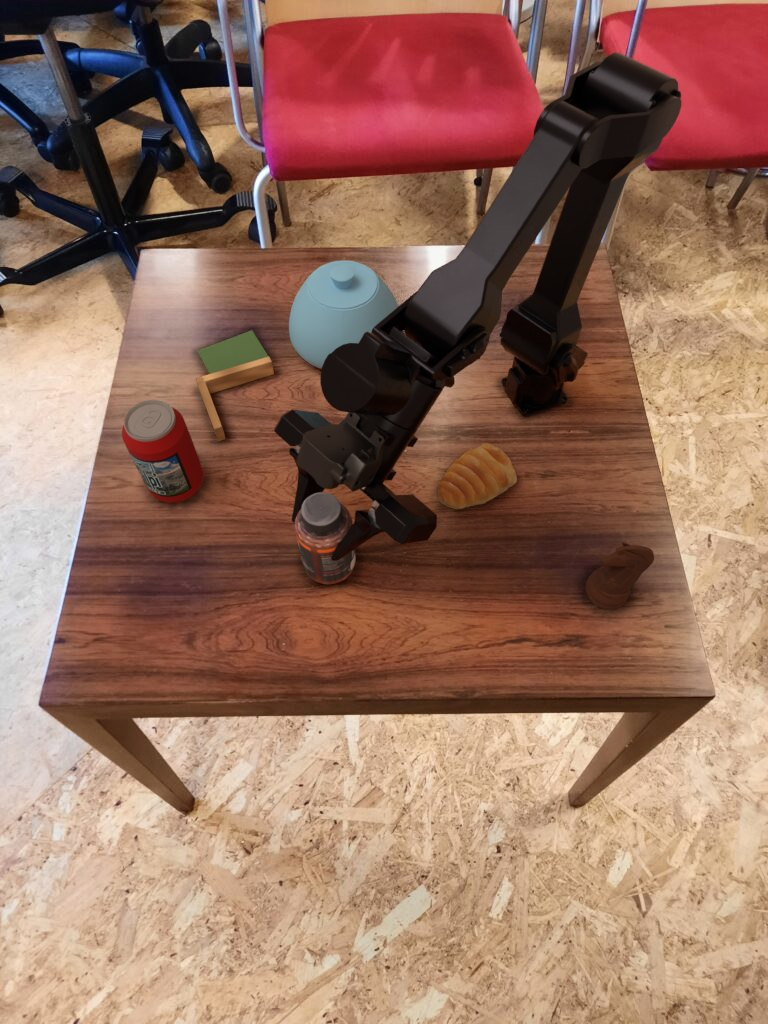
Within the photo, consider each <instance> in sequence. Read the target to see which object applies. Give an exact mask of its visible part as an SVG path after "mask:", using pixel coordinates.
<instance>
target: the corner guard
mask: <svg viewBox="0 0 768 1024" xmlns="http://www.w3.org/2000/svg"><path fill="white" fill-rule="evenodd" d="M274 375H275V372H274V366H273V361H272V359H271V357H270V356H269V357H266V358H262V359H259V360H255V361H252V362H249V363H245V364H242V365H239V366H235V367H232V368H229V369H225V370H222V371H219V372H215V373H212V374H209V373H208V374H205V375H201V376H199V377H196V378H195V381H196V384H197V387H198V390H199V393H200V396H201V399H202V401H203V405H204V407H205V409H206V412H207V415H208V418H209V421H210V423H211V426H212V428H213V432H214V434H215V437H216V439H217V442H221V441H224V440H226V439H227V438H226V434H225V431H224V428H223V424H222V422H221V420H220V417H219V414H218V412H217V409H216V406H215V404H214V402H213V399H212V395H211V394H215V393H217V392H221V391H224V390H227V389H230V388H234V387H237V386H240V385H244V384H248V383H250V382H253V381H256V380H260V379H264V378H267V377H270V376H274Z"/></svg>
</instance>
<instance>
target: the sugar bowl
mask: <svg viewBox="0 0 768 1024" xmlns="http://www.w3.org/2000/svg"><path fill="white" fill-rule="evenodd" d="M398 306H399V303H398V301H397V300H396V297H395V296H394V293H393V292H392V290H391V288H389V286H388V285H387V284H386V282H385V281H384V280H383V279H382V278H381V277H380V276H379V275H378V274H377V273H376V272H375V271H374V270H373V269H371V268H370V267H369V266H367V265H365V264H363V263H361V262H357V261H353V260H334V261H330V262H327V263H324V264H323V265H321V266H319V267H317V268H316V269H315V270H313V272H311V274H309V276H308V277H307V278H306V280H305V281H304V282H303V284H302V285H301V287H300V288H299V290H298V291H297V293H296V295H295V297H294V299H293V302H292V305H291V308H290V313H289V318H288V319H289V320H288V334H289V335H288V336H289V339H290V343H291V345H292V347H293V349H294V350H295V351H296V353H297V354H298V356H299V357H301V358H302V359H303V360H304V361H306V363H308V364H309V365H312V366H314V367H316V368H318V369H320V370H322V366H323V364H324V361H325V359H326V358H327V356H328V355H329V354H330V353H332V352H333V351H334V350H335V349H336V348H338V347H340V346H341V345H344V344H347V343H359V342H360V340H361V338H362V336H363V335H364V333H365V332H370V333H372V329H373V327H375V326H376V325H377V324H378V323H379V322H381V321H382V320H383V319H384V318H385V317H387V316H388V315H389V314H390V313H391V312H393V311H394V310H395V309H396V308H397V307H398Z"/></svg>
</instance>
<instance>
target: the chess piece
mask: <svg viewBox="0 0 768 1024" xmlns="http://www.w3.org/2000/svg"><path fill="white" fill-rule="evenodd" d="M621 544H622V546H617V547H615V551H614V552H613V553H611V554H609V555H607V556H603V557H602V558H601V562H602V565H601V566H599V567H598V568H597V569H596V570H594V571H593V572H591V574H590V575H589V576H588V578H587V579H586V582H585V594H586V596H587V598H588V599H589V601H590V602H591V603H592V604H593V605H594V606H596V607H597V608H600V609H602V610H608V611H609V610H610V611H612V610H616V609H617V610H618V609H619V608H621V607H622V606H623V605H625V604H626V602H627V600H628V599H629V596H630V594H631V587H633V585H635V583H636V582H637V581H638V580H639V579H640V577H641V576H642V574H643V573H645V571H647V569H648V568H650V567H651V566H652V564H653V563H654V561H655V554H654V551H653V550H652V549H651V547H647V546H644V545H637V544H633V545H632V544H629V543H626V542H624V541H622V542H621Z"/></svg>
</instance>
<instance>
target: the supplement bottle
mask: <svg viewBox="0 0 768 1024" xmlns="http://www.w3.org/2000/svg"><path fill="white" fill-rule="evenodd" d="M352 525H353V518H352V515H351V513H350V511H349V509H348V508H347V507H346V506H345V505H344V504H343V503H341V502H340V500H339V499H338V498H337V497H336V496H335V495H334V494H332V493H329V492H324V491H323V492H319V493H315V494H312V495H310V496H309V497H307V498H306V499H305V501H304V502H303V504H302V507H301V510H300V511H299V513H298V515H297V517H296V520H295V523H294V533H295V537H296V541H297V546H298V550H299V554H300V559H301V563H302V566H303V569H304V571H305V573H306V575H307V576H308V577H309V578H310V579H311V580H313V581H315V582H316V583H319V584H323V585H334V584H338V583H340V582H343V581H344V580H346V579H347V578H348V577H349V576H350V575H351V574H352V572H353V571H354V569H355V566H356V560H357V559H356V557H357V555H356V549H354V550H353V551H351V552H350V553H348V554H347V555H346V556H344V557H343V558H341V559H340V560H337V561H333V560H332V559H331V557H332V555H333V553H334V551H335V549H336V547H337V546H338V545H339V543H340V542H341V540H342V539H343V538H344V536H345V535H346V533H347V532H348V530H349V529H350V528H351V526H352Z"/></svg>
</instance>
